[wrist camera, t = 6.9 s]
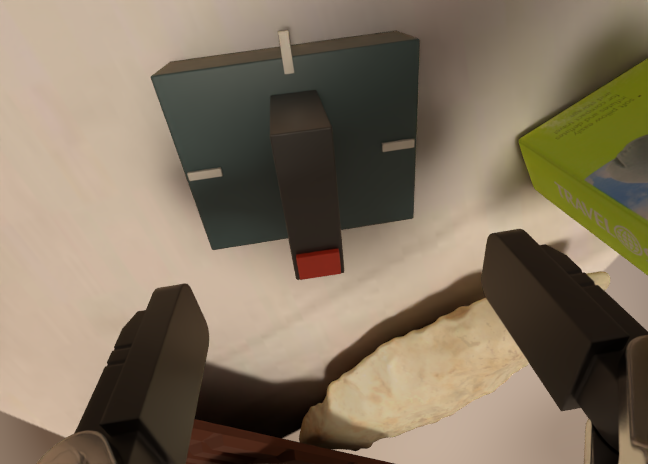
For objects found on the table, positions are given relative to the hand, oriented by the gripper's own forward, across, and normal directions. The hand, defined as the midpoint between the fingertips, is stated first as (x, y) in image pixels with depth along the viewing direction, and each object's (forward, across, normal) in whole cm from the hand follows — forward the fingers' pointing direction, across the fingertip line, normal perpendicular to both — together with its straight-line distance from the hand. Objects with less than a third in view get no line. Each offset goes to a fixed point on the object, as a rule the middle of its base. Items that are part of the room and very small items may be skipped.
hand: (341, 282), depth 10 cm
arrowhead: (+11, +3, +26) cm, 28 cm away
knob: (+7, +1, -1) cm, 7 cm away
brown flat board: (+8, +7, +26) cm, 28 cm away
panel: (+10, +1, -1) cm, 10 cm away
